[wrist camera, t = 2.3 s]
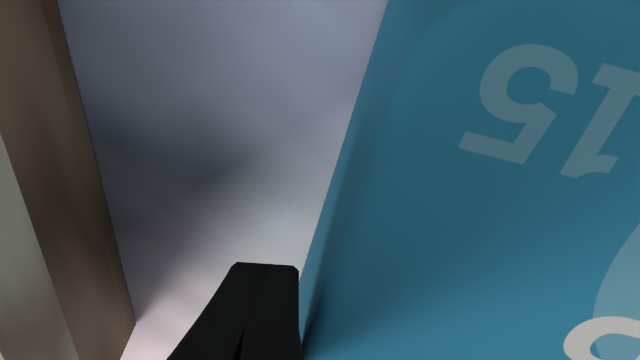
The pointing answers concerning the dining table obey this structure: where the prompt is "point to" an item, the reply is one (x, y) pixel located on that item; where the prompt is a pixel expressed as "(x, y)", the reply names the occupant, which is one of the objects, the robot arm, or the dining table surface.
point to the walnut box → (61, 177)
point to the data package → (485, 189)
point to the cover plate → (26, 284)
